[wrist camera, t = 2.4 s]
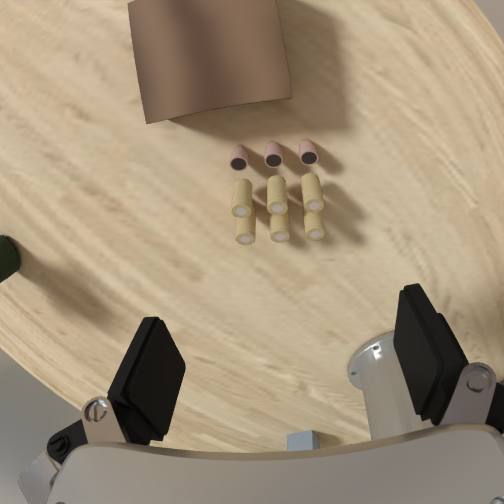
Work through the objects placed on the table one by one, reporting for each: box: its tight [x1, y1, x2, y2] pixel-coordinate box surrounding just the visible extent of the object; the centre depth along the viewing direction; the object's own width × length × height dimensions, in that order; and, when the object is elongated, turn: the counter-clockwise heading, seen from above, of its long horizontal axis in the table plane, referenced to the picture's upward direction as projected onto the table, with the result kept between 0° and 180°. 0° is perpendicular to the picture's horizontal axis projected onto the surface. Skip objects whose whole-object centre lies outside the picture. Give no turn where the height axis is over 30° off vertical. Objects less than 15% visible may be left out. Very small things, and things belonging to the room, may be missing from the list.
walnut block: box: [128, 0, 293, 124], centre depth 19 cm, size 11×11×5 cm
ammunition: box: [230, 139, 325, 245], centre depth 25 cm, size 5×7×8 cm
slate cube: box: [287, 430, 320, 451], centre depth 47 cm, size 5×5×5 cm
